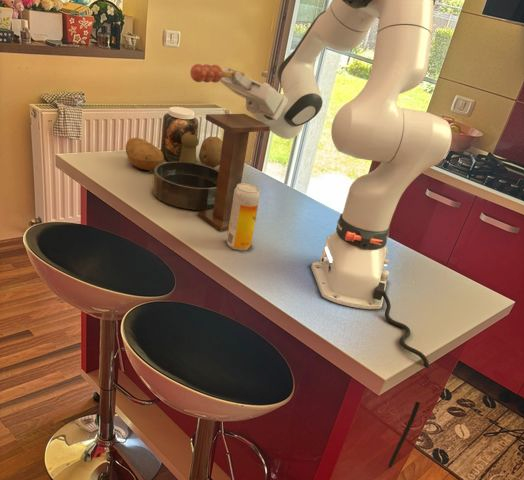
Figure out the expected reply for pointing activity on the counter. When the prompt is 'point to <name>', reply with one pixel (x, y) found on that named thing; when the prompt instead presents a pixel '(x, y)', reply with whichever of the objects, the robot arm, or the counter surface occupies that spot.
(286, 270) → the counter surface
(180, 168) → the round cake pan
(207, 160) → the round brown potato
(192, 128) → the jar
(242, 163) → the walnut stand
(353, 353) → the counter surface
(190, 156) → the cork
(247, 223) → the beer can
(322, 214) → the counter surface
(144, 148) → the potato
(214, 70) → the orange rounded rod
